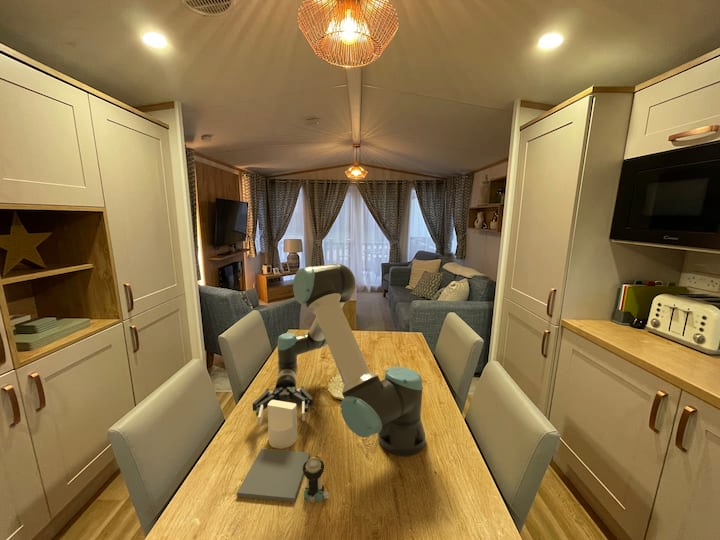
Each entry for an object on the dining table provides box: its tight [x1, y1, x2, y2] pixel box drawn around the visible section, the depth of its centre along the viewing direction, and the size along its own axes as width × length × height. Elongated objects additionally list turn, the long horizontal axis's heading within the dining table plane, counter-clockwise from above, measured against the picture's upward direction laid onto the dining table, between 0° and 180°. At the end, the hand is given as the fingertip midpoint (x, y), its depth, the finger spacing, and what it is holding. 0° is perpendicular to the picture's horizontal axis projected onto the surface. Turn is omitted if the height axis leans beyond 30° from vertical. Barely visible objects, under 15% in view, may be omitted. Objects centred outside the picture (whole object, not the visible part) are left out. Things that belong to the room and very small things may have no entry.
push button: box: [303, 457, 331, 503], centre depth 77 cm, size 7×5×10 cm
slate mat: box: [236, 448, 311, 503], centre depth 84 cm, size 15×15×1 cm
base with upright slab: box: [267, 400, 298, 450], centre depth 97 cm, size 9×9×12 cm
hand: (281, 419), depth 97 cm, fingers open, 13 cm apart
